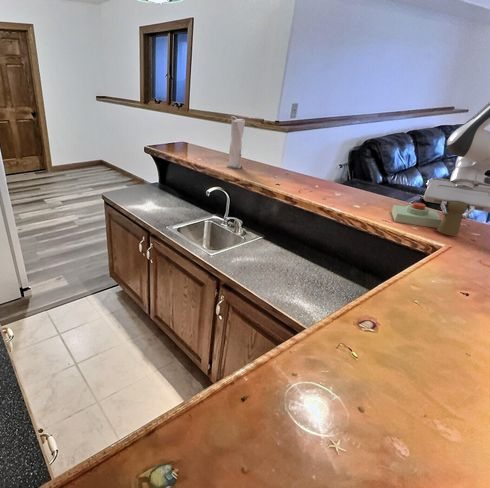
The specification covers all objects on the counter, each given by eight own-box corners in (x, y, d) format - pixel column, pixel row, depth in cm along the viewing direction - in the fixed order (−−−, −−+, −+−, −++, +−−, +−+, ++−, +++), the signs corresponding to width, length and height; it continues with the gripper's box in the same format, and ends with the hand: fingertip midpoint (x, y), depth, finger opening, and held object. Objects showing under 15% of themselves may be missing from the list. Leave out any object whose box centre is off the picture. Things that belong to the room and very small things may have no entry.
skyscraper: (225, 167, 203) (230, 116, 191) (227, 164, 210) (232, 115, 198) (240, 168, 201) (245, 117, 188) (241, 165, 208) (247, 115, 195)
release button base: (432, 218, 136) (437, 206, 134) (438, 228, 127) (443, 215, 125) (391, 212, 141) (395, 200, 139) (394, 221, 133) (398, 209, 130)
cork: (441, 234, 120) (453, 204, 115) (433, 227, 125) (445, 198, 120) (461, 236, 119) (474, 205, 114) (453, 229, 124) (465, 199, 119)
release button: (423, 207, 133) (424, 203, 132) (425, 211, 130) (426, 206, 129) (410, 206, 135) (412, 201, 134) (412, 209, 131) (414, 205, 131)
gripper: (431, 172, 125) (419, 205, 122) (507, 182, 113) (495, 219, 111) (427, 181, 130) (416, 213, 127) (500, 192, 118) (489, 227, 116)
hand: (453, 216), depth 119 cm, fingers closed on cork, 4 cm apart
